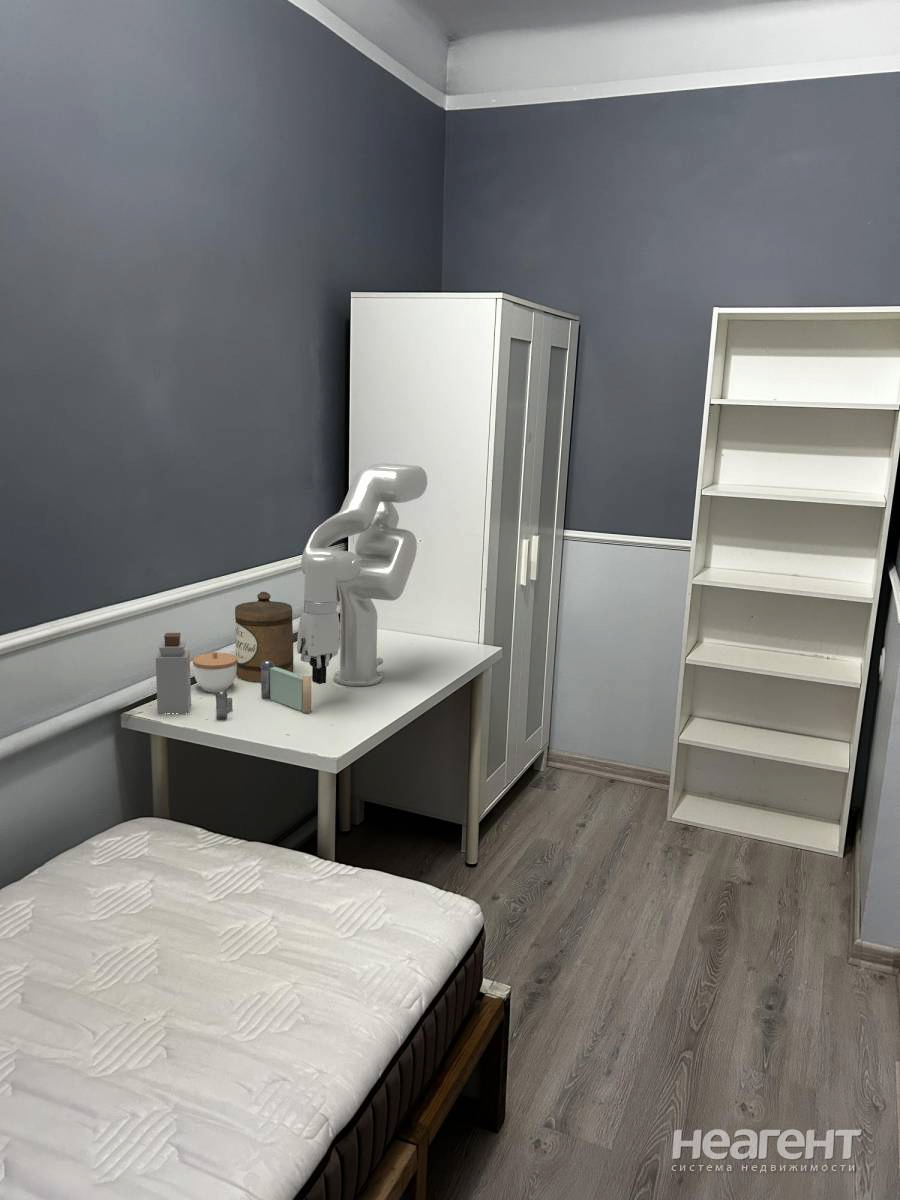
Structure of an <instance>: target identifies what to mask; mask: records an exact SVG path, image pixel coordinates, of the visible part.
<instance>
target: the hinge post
mask: <svg viewBox="0 0 900 1200" xmlns="http://www.w3.org/2000/svg"><path fill="white" fill-rule="evenodd" d="M273 667H274V664H273V662H272V661H270V660H265V661H263V662H262V663H261V682H260V683H261V684H260V687H261V688H260V691H261V692H260V694H261V695H260V696H261V699H262V700H265V701H266V700H267V701H269V700H271V699H270V668H273Z"/></svg>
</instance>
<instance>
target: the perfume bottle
mask: <svg viewBox="0 0 900 1200" xmlns="http://www.w3.org/2000/svg"><path fill="white" fill-rule="evenodd" d="M163 638H164V639H163V640H162V641H161V642H160V644H159V647H158V649H159V650H158V652H157V654H156V656H155V674H156V675H155V676H156V678H155V679H156V703H157V704H156V705H157V710H156V711H157V715H158V714H165V713H166V714H167V713H170V714H172V713H174V714H176V713H178V714H179V715H189V714H190V710H191V707H190V706H192V692H191V691H192V689H191V686H192V685H191V651H190V649H188V648H187V649H185V648H186V643H187V640H181V632H166V633H165V634H164V636H163ZM189 709H190V710H189ZM186 713H187V714H186ZM188 713H189V714H188Z"/></svg>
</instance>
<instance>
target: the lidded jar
mask: <svg viewBox="0 0 900 1200" xmlns="http://www.w3.org/2000/svg"><path fill="white" fill-rule="evenodd" d="M192 664H193V673H194V678H195V679H194V680H196V682H197V684H198V686H200V687H201V688H202V690H203V689H204V690H205V692H207V691H208V692H207V693H217V692H218V691H225V690H226V691H228V689H229V687H230V686H232V684H233V683H234V682H235V679H236V677H237V675H236V673H237V657H236V654H235V655H234V654H232V653H227V652H218V651H213V652H208V653H203V654H202V653H201V654H199V655H197V656H194V658H193V659H192ZM204 690H203V691H204ZM226 691H225V692H226Z"/></svg>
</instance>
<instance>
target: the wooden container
mask: <svg viewBox="0 0 900 1200" xmlns="http://www.w3.org/2000/svg"><path fill="white" fill-rule="evenodd" d="M256 598H257V599H258V600H257V601H248V602H242V603H240V604H236V606H235V607H234V618H235V620H234V621H235V656H236V657H237V673H236V677H238V678H239V679H240V678H241V680H244V681H246V680H247V681H248V682H252V683H253V682H254V683H261V663H262V662H263V661H265V660H270V661H272V662H273V664H274V667H278V668H281V669H284V670H286V671H289V672H292V673H294V628H293V606H292V605H291V603H290V604H289V603H287V602H283V601H282V602H281V601H272V600H270V599H271V594H270V593H269V592H267V591H261V592H259V593H258V594H257V595H256ZM247 681H246V682H247Z"/></svg>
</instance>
